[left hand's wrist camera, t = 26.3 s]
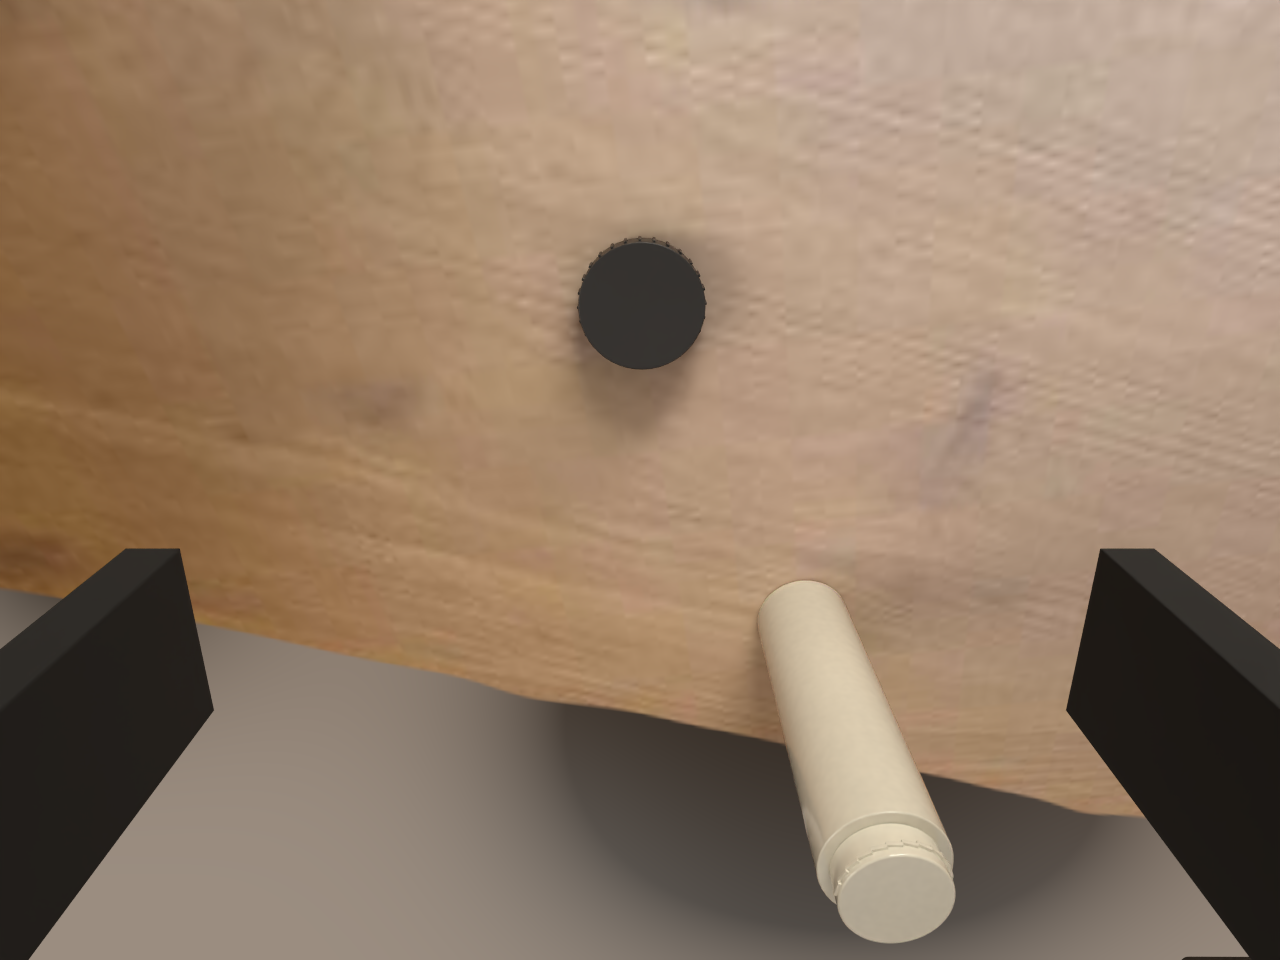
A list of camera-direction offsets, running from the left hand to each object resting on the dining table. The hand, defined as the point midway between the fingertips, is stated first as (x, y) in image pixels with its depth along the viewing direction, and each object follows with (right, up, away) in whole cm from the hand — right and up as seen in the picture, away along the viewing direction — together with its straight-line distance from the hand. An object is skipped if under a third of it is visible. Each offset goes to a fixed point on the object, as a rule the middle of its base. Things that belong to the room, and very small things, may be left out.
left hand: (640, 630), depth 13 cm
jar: (+8, -5, +33) cm, 35 cm away
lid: (0, +10, +26) cm, 28 cm away
